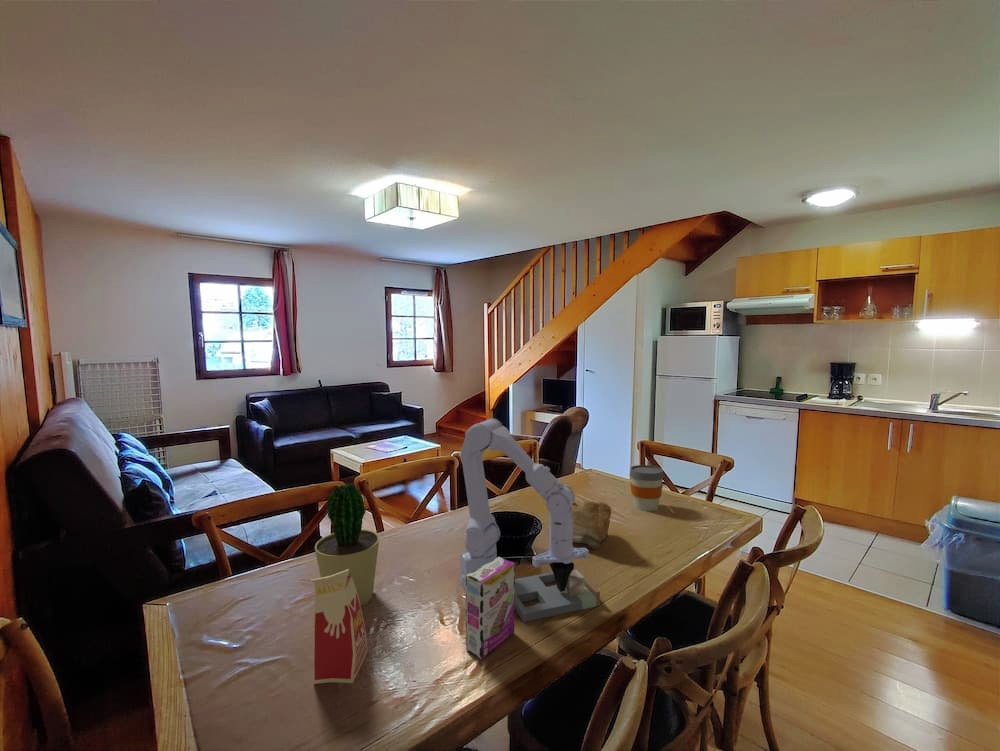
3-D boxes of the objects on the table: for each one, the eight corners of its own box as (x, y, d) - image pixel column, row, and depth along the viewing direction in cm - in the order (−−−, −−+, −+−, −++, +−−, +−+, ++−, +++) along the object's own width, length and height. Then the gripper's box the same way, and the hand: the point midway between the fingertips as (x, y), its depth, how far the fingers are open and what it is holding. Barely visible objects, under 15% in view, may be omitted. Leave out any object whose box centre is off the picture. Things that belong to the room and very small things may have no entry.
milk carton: (367, 650, 94) (364, 558, 92) (355, 683, 84) (351, 581, 83) (323, 651, 93) (320, 559, 92) (306, 685, 84) (302, 583, 83)
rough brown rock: (633, 547, 141) (634, 500, 142) (599, 558, 131) (600, 507, 131) (577, 526, 160) (579, 485, 160) (544, 535, 150) (546, 490, 150)
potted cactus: (377, 577, 123) (374, 470, 121) (384, 607, 109) (380, 487, 107) (317, 588, 117) (313, 477, 115) (316, 622, 103) (311, 495, 101)
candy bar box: (482, 661, 90) (481, 583, 89) (464, 651, 93) (463, 575, 92) (516, 633, 98) (515, 561, 97) (498, 624, 102) (498, 555, 100)
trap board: (523, 622, 102) (523, 607, 102) (502, 588, 117) (502, 575, 116) (599, 605, 109) (599, 591, 108) (571, 575, 123) (571, 563, 123)
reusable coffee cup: (623, 503, 178) (623, 466, 177) (649, 499, 182) (650, 463, 181) (641, 514, 166) (642, 475, 165) (670, 510, 170) (670, 472, 169)
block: (569, 596, 109) (569, 580, 109) (562, 587, 113) (562, 572, 113) (584, 593, 111) (584, 577, 110) (576, 584, 114) (576, 569, 114)
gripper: (540, 547, 104) (540, 603, 105) (595, 538, 108) (595, 592, 109) (528, 535, 110) (529, 588, 111) (581, 527, 115) (581, 578, 116)
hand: (561, 589), depth 111 cm, fingers closed
